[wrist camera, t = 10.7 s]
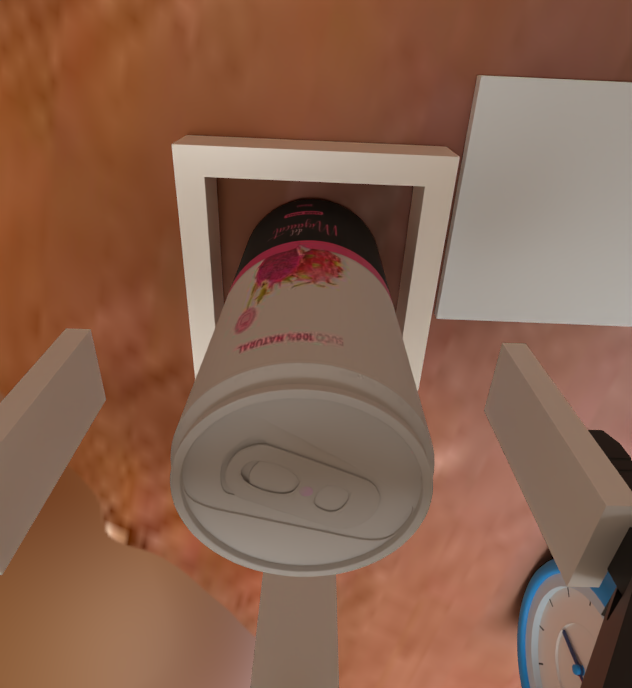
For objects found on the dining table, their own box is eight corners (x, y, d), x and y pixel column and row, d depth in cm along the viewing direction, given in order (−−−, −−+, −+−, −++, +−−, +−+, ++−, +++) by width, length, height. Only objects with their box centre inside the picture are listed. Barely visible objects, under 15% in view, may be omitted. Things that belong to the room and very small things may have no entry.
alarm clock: (567, 512, 34) (720, 800, 21) (651, 524, 34) (852, 812, 21) (496, 621, 40) (579, 892, 27) (568, 630, 41) (683, 899, 28)
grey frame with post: (446, 146, 22) (647, 301, 8) (395, 455, 31) (452, 766, 18) (186, 134, 22) (-37, 273, 8) (213, 448, 31) (129, 757, 17)
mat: (741, 87, 21) (752, 88, 20) (642, 321, 26) (648, 327, 26) (477, 75, 20) (481, 75, 20) (434, 313, 26) (436, 318, 26)
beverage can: (277, 171, 23) (218, 335, 10) (402, 233, 24) (498, 448, 11) (227, 291, 26) (130, 537, 13) (340, 339, 27) (358, 605, 14)
